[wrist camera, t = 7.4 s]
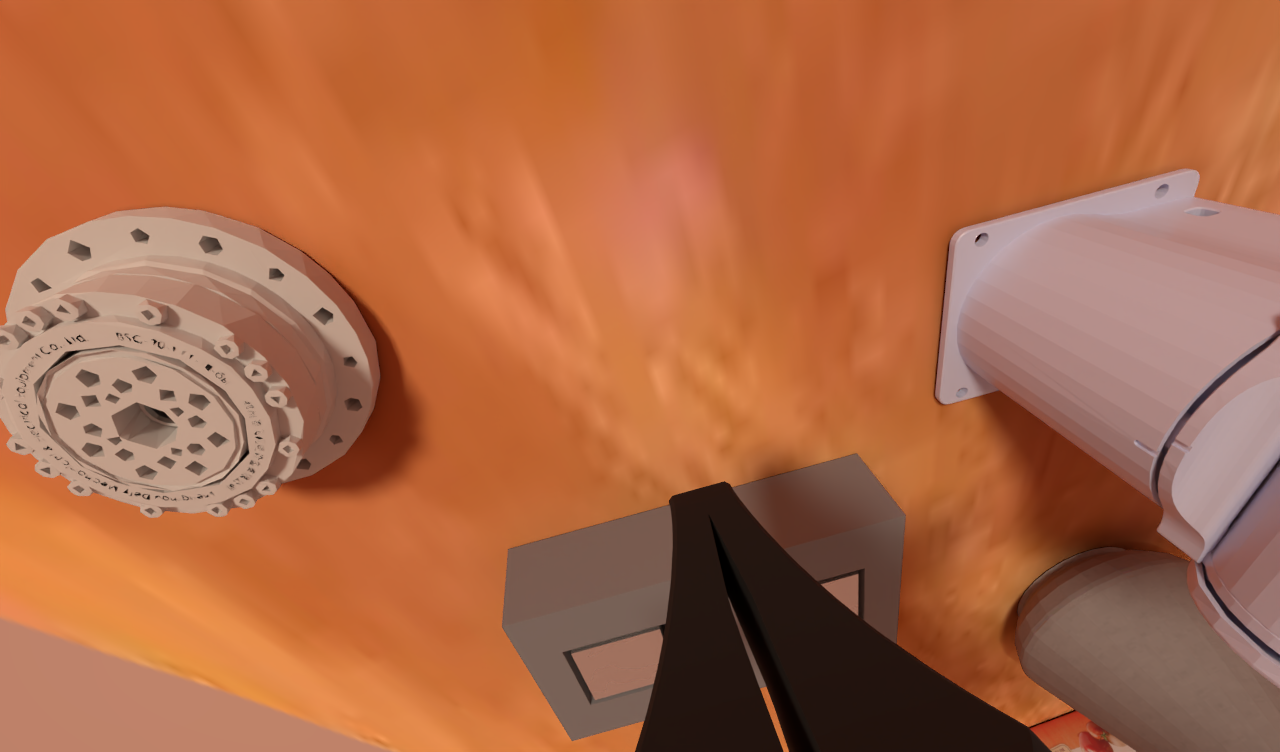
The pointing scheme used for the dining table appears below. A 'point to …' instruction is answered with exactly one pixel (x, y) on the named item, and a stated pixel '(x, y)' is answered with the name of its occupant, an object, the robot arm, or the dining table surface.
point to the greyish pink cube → (620, 662)
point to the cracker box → (1077, 735)
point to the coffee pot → (1142, 656)
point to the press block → (641, 576)
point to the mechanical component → (181, 362)
